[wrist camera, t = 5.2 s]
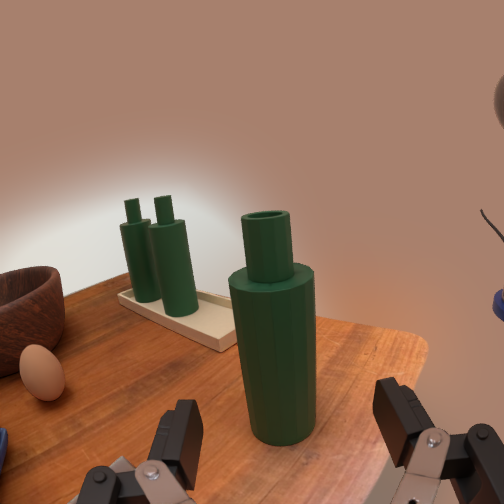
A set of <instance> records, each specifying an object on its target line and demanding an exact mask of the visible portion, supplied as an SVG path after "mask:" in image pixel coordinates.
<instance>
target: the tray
mask: <svg viewBox="0 0 504 504" xmlns="http://www.w3.org/2000/svg"><path fill="white" fill-rule="evenodd" d="M196 293H197V298H198V304H199V309H198V310H197V311H196V312H195V313H193V314H191V315H188V316H184V317H170V316H168V315H166V314H165V311H164V306H163V302H162V298H161V299H159V300H157V301H154V302H150V303H139V302H137V301H136V300H135V297H134V293H133V288H132V289H129V290H127V291H124V292H122V293H119V294H117V295H118V299H119V303H120V304H121V305H123V306H125V307H126V308H128V309H130V310H132V311H134V312H136V313H138V314H140V315H142V316H144V317H146V318H148V319H150V320H152V321H154V322H156V323H158V324H160V325H162V326H164V327H166V328H168V329H170V330H172V331H174V332H176V333H179V334H181V335H183V336H185V337H187V338H189V339H191V340H194V341H196V342H198V343H200V344H203V345H205V346H207V347H209V348H212V349H214V350H216V351H218V352H223V351H224V350H226V349H228V348H229V347H231V346H232V345H234V344H235V343H237V337H236V330H235V323H234V317H233V310H232V303H231V299H230V298H226V297H223V296H219V295H215V294H212V293H208V292H204V291H201V290H197V289H196Z"/></svg>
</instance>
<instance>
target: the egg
mask: <svg viewBox="0 0 504 504" xmlns="http://www.w3.org/2000/svg"><path fill="white" fill-rule="evenodd" d="M19 366H20V375H21V379H22V381H23V383H24V385H25V387H26V388H27V390H28V391H29V392H30V393H31V394H32V395H33V396H35V397H36V398H38V399H40V400H44V401H53V400H55V399H57V398H58V397H59V396H60V395H61V393H62V392H63V390H64V386H65V376H64V372H63V369H62V367H61V364H60V362H59V361H58V359H57V358H56V357H55V356H54V355H53V354H52V353H51V352H50V351H49V350H47V349H46V348H45V347H43V346H40V345H29V346H27V347H26V348H25V349H24V350H23V352H22V354H21V356H20V364H19Z"/></svg>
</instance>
